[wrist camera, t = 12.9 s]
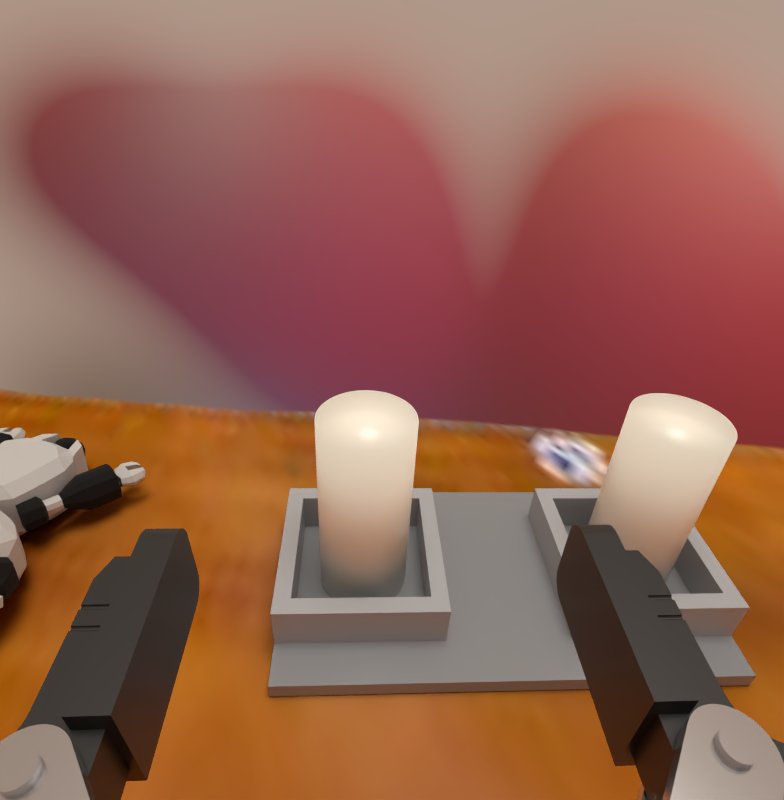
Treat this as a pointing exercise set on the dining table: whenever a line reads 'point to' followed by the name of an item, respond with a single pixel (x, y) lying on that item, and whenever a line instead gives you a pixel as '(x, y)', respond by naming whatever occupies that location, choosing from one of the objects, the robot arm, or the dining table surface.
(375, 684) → the grey double candle holder
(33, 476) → the robot toy
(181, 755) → the dining table surface
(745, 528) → the dining table surface
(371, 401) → the cream white cylinder
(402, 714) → the dining table surface
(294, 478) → the dining table surface
